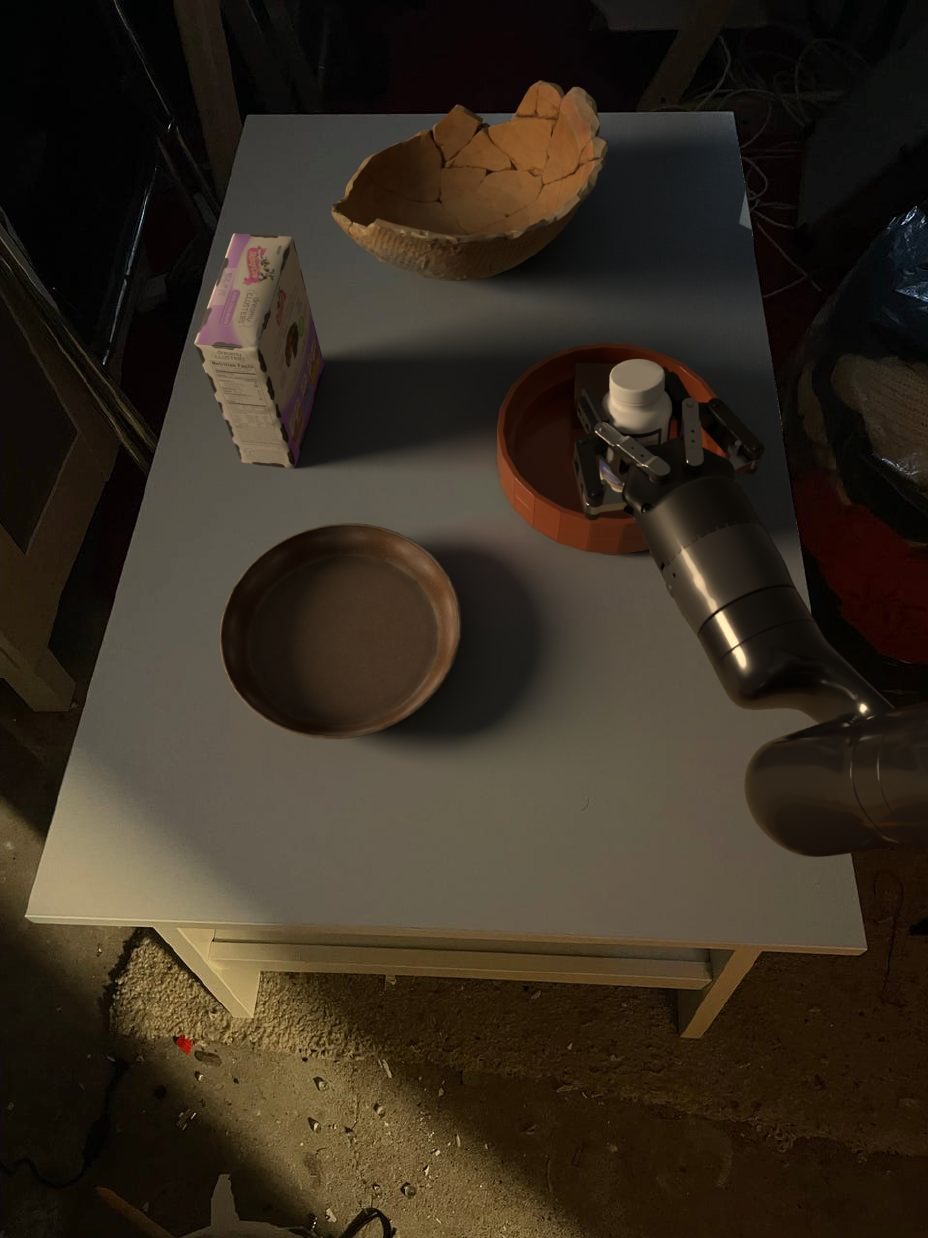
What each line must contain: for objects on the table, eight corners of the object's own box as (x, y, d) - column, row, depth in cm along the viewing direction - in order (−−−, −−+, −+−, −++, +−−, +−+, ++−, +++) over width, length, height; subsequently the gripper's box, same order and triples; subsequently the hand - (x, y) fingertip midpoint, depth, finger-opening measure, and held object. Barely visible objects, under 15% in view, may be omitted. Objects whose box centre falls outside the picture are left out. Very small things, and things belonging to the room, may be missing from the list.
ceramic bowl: (386, 125, 110) (394, 1, 96) (595, 193, 110) (632, 79, 96) (301, 301, 97) (295, 186, 84) (537, 377, 98) (570, 275, 84)
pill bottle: (622, 446, 75) (626, 344, 67) (679, 468, 72) (689, 365, 65) (586, 482, 73) (586, 381, 65) (643, 507, 70) (649, 405, 63)
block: (616, 395, 90) (622, 363, 86) (616, 430, 88) (622, 399, 84) (571, 394, 91) (575, 362, 87) (571, 428, 88) (574, 397, 84)
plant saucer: (510, 625, 79) (510, 608, 76) (349, 801, 72) (343, 789, 69) (342, 505, 86) (337, 484, 83) (181, 654, 79) (169, 638, 76)
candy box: (272, 360, 95) (232, 228, 80) (326, 365, 94) (295, 233, 80) (239, 464, 88) (189, 341, 74) (297, 470, 88) (258, 347, 73)
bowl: (714, 389, 91) (727, 350, 86) (717, 566, 81) (732, 533, 76) (508, 375, 93) (509, 336, 88) (486, 547, 83) (486, 513, 78)
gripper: (830, 499, 58) (717, 324, 66) (626, 561, 57) (535, 373, 65) (796, 560, 65) (697, 394, 73) (613, 616, 63) (532, 440, 71)
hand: (621, 385), depth 69 cm, fingers closed on pill bottle, 5 cm apart
